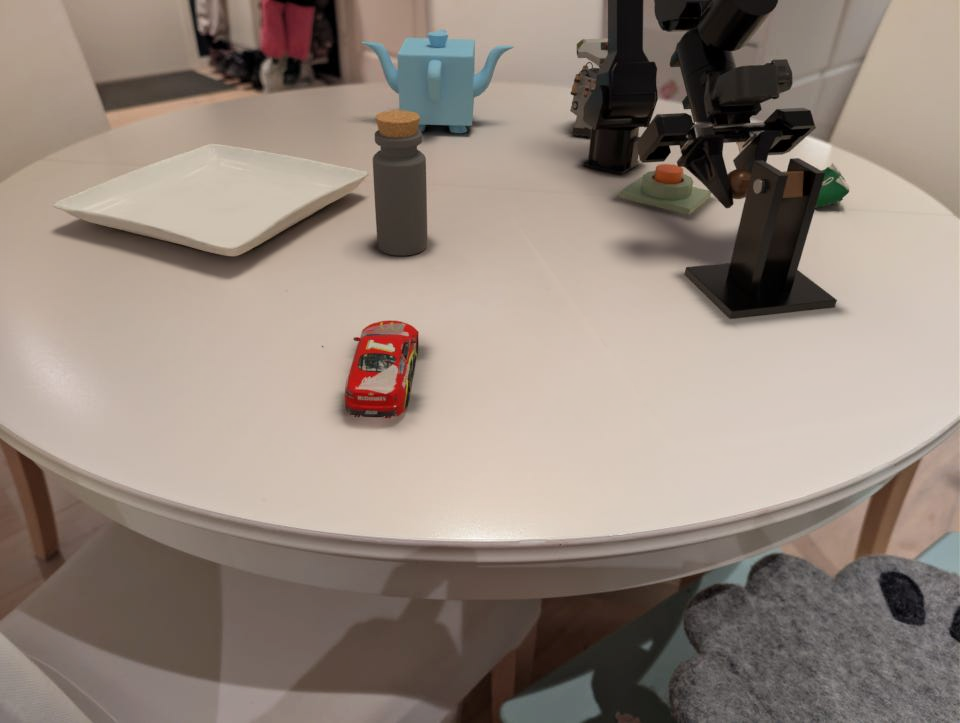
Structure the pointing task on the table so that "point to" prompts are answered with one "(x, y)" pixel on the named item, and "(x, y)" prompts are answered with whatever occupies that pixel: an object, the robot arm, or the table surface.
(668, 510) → the table surface
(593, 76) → the figurine
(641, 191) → the button block
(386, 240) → the bottle
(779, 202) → the bracket
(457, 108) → the teakettle
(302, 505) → the table surface
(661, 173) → the button
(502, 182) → the table surface
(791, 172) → the lever
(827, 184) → the green carton
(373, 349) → the race car
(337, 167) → the square plate
